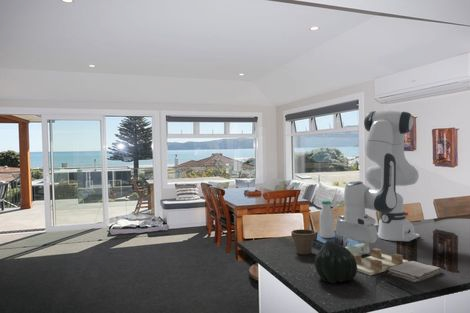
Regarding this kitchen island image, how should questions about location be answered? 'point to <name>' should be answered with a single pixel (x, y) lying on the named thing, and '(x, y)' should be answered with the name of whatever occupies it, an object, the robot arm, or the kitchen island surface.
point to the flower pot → (303, 240)
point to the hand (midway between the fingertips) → (355, 248)
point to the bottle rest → (377, 262)
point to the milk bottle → (326, 220)
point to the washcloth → (414, 271)
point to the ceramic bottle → (358, 249)
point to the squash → (335, 263)
